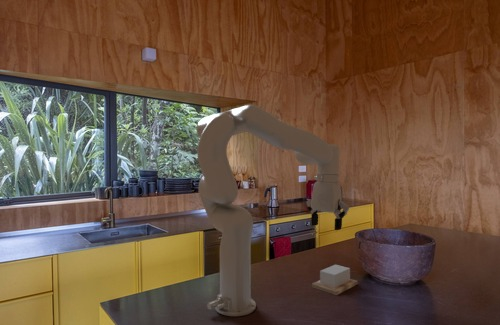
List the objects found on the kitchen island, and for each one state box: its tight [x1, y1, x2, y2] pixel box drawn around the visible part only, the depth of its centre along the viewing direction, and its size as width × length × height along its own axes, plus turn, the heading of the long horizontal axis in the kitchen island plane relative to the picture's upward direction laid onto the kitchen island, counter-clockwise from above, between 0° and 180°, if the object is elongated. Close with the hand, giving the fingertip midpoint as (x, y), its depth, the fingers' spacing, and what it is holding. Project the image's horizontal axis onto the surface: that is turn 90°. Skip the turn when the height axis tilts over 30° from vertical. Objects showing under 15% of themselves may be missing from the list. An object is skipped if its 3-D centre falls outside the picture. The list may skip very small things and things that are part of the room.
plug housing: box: [319, 264, 351, 288], centre depth 124 cm, size 10×6×4 cm, turn 134°
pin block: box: [311, 278, 359, 296], centre depth 124 cm, size 14×10×4 cm
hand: (325, 227), depth 123 cm, fingers open, 9 cm apart
